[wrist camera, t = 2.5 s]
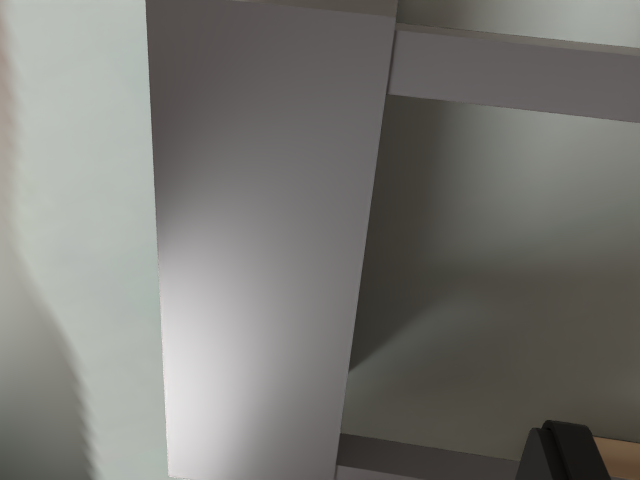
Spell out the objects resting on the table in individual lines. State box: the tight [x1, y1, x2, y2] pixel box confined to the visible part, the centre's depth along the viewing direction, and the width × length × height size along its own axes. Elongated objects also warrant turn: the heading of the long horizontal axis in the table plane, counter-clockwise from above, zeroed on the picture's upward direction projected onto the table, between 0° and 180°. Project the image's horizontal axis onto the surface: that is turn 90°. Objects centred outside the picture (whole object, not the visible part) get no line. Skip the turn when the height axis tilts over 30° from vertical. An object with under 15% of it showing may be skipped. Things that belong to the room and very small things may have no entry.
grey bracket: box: [146, 0, 640, 480], centre depth 14 cm, size 11×11×5 cm
